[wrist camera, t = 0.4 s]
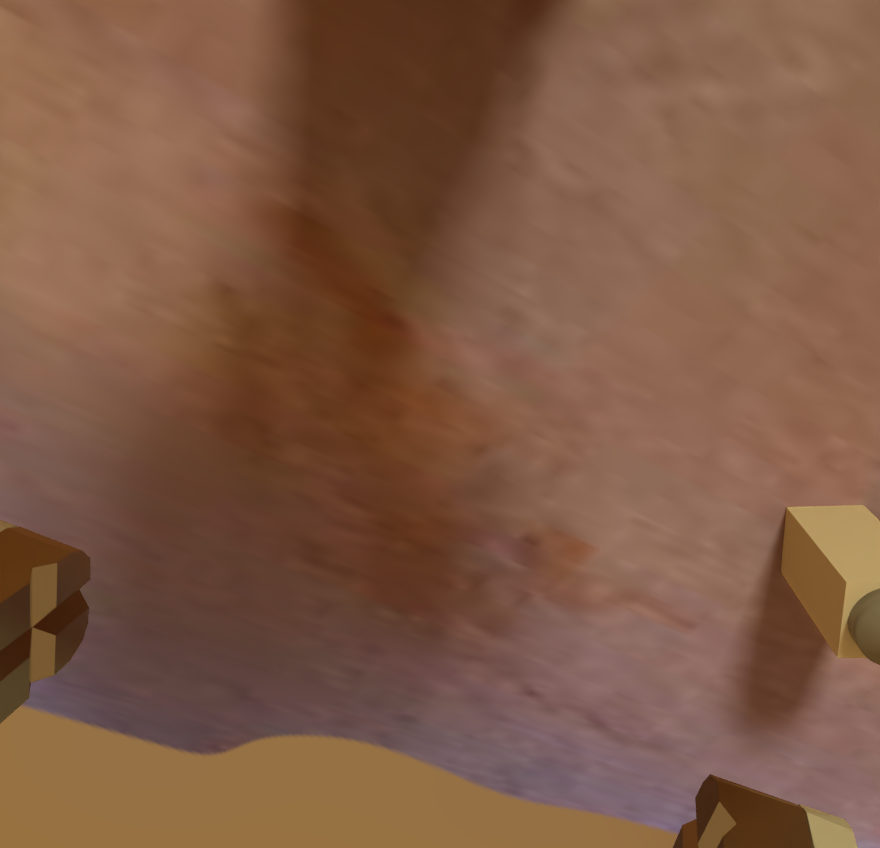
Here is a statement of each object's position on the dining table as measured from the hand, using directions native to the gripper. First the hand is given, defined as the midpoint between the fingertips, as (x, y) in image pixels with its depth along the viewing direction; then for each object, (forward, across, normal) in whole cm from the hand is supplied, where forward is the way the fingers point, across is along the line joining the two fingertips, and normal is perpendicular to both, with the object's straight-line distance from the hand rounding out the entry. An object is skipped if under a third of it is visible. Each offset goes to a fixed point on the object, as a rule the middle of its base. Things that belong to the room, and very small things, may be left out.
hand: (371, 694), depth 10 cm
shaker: (+41, -19, +14) cm, 47 cm away
